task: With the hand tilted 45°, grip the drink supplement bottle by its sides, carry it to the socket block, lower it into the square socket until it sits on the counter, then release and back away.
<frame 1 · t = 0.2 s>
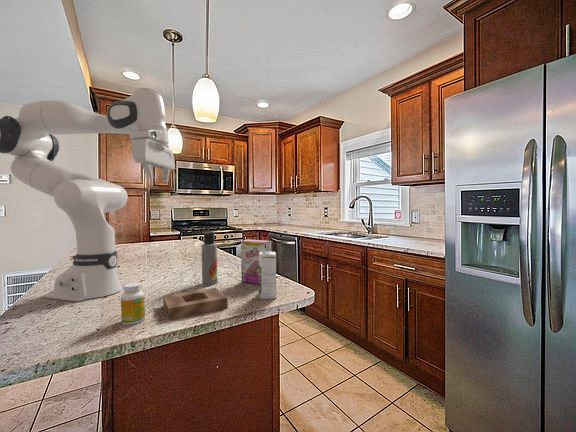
hand: (158, 180, 94), 39 cm above the countertop, tool pointing down, fingers open, 8 cm apart
socket block: (195, 306, 84), on the countertop
supplement bottle: (133, 321, 74), on the countertop
lotion bottle: (209, 283, 109), on the countertop
candy bar box: (256, 283, 109), on the countertop
syrup box: (267, 296, 93), on the countertop
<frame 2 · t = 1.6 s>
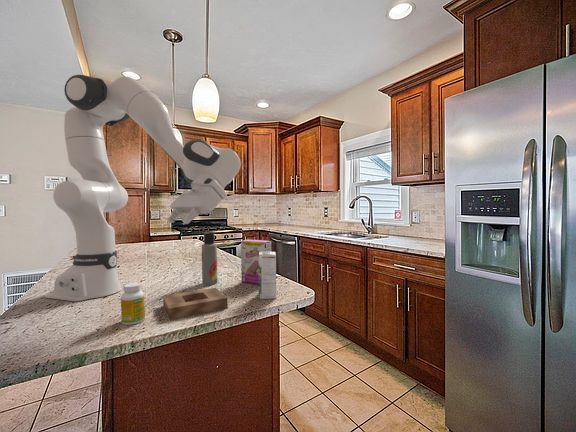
hand: (176, 221, 82), 25 cm above the countertop, tool tilted 45°, fingers open, 8 cm apart
nothing on the countertop moved.
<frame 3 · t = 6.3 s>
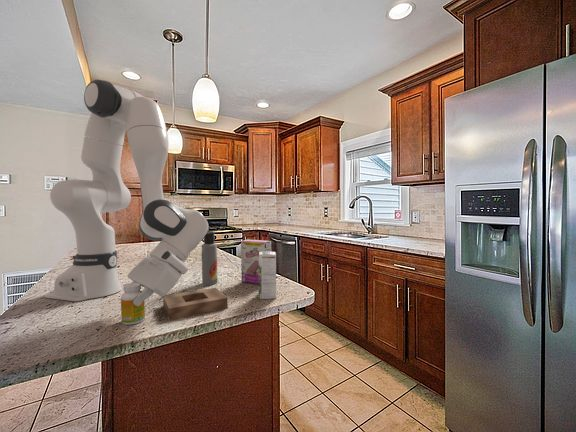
hand: (130, 301, 73), 5 cm above the countertop, tool tilted 45°, fingers closed on supplement bottle, 5 cm apart
supplement bottle: (133, 321, 74), on the countertop, touching gripper
everything else where it was.
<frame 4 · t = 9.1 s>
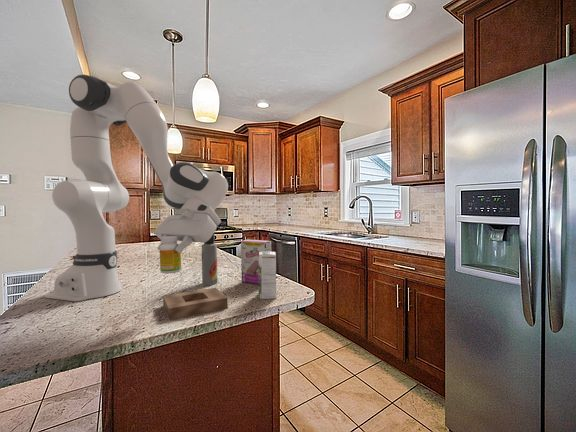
hand: (168, 251, 77), 18 cm above the countertop, tool tilted 45°, fingers closed on supplement bottle, 5 cm apart
supplement bottle: (171, 272, 78), point 12 cm above the countertop, touching gripper
everything else where it was.
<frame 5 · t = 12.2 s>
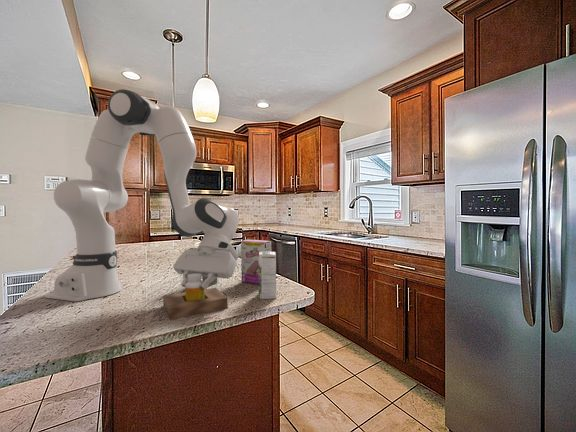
hand: (193, 287, 83), 6 cm above the countertop, tool tilted 45°, fingers closed on supplement bottle, 5 cm apart
supplement bottle: (195, 307, 84), resting in socket block, touching gripper
everything else where it was.
when the fingers open (6 cm above the countertop, at t = 12.5 s): supplement bottle stays where it is, resting in socket block.
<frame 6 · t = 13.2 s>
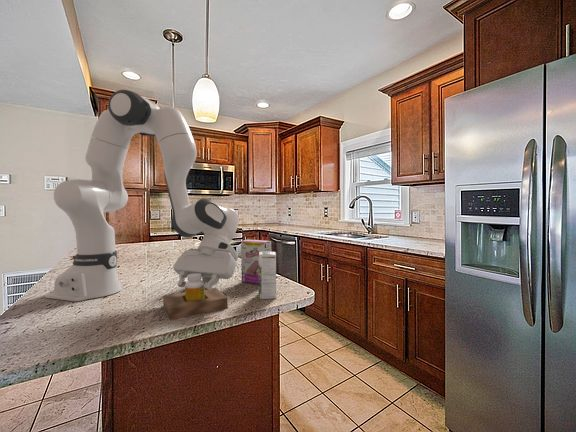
hand: (193, 288, 83), 6 cm above the countertop, tool tilted 45°, fingers open, 8 cm apart
supplement bottle: (195, 307, 84), resting in socket block
everything else where it was.
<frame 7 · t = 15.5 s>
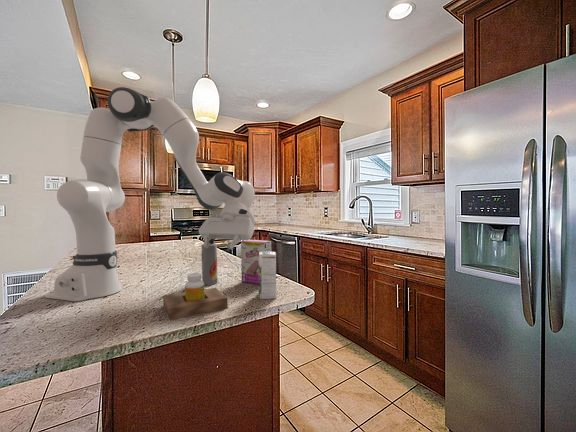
hand: (217, 247, 95), 16 cm above the countertop, tool tilted 45°, fingers open, 8 cm apart
nothing on the countertop moved.
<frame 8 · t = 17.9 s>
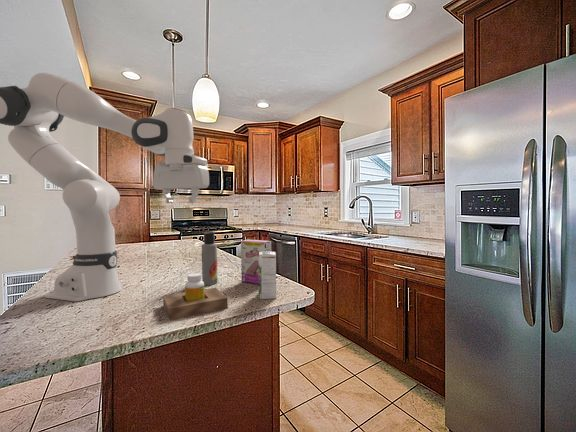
hand: (180, 202, 92), 31 cm above the countertop, tool pointing down, fingers open, 8 cm apart
nothing on the countertop moved.
at the end: supplement bottle 0.1 cm off-centre on the socket block, point 0.0 cm above the socket block's base; supplement bottle tilted 0°; the gripper is holding nothing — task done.
